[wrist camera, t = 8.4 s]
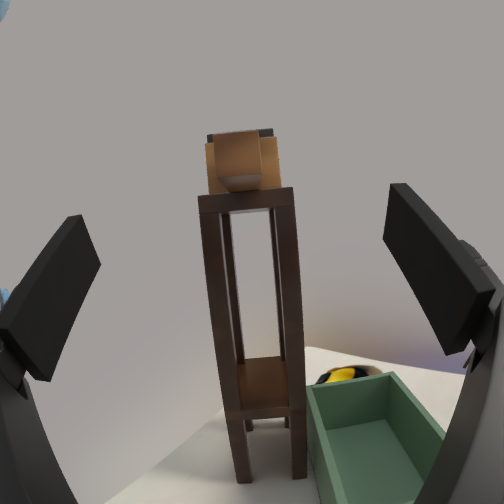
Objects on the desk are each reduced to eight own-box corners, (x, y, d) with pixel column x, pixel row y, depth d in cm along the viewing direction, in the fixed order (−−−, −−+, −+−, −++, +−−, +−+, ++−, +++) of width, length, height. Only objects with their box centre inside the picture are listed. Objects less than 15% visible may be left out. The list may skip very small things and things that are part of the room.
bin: (334, 566, 15) (342, 526, 15) (305, 432, 37) (304, 385, 36) (456, 528, 15) (483, 478, 14) (388, 417, 37) (393, 371, 36)
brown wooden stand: (237, 483, 28) (197, 195, 25) (241, 425, 40) (215, 203, 37) (307, 478, 28) (292, 186, 25) (296, 420, 40) (280, 196, 37)
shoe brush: (182, 182, 16) (177, 90, 16) (218, 200, 33) (214, 150, 33) (297, 170, 16) (286, 79, 16) (276, 194, 33) (271, 145, 33)
